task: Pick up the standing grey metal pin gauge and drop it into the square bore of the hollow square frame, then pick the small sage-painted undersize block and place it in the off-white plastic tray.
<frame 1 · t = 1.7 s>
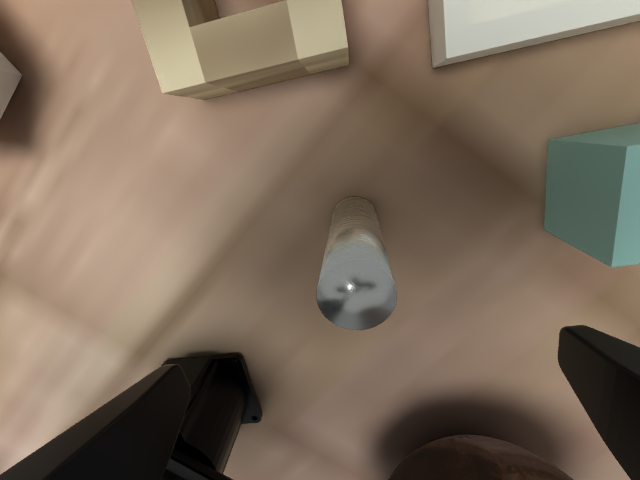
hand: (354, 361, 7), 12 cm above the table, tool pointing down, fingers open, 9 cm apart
wooden sphere: (457, 455, 25), on the table
undersize block: (596, 178, 17), on the table
pin gauge: (354, 217, 18), on the table
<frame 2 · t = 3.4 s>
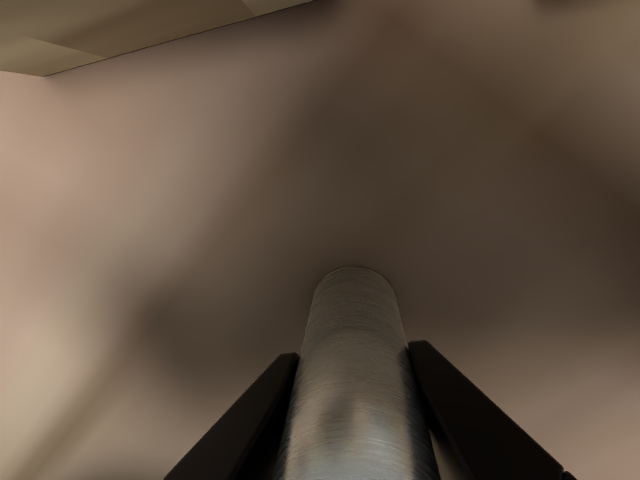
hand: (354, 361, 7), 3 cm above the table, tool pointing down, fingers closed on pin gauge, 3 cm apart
pin gauge: (353, 303, 10), on the table, touching gripper
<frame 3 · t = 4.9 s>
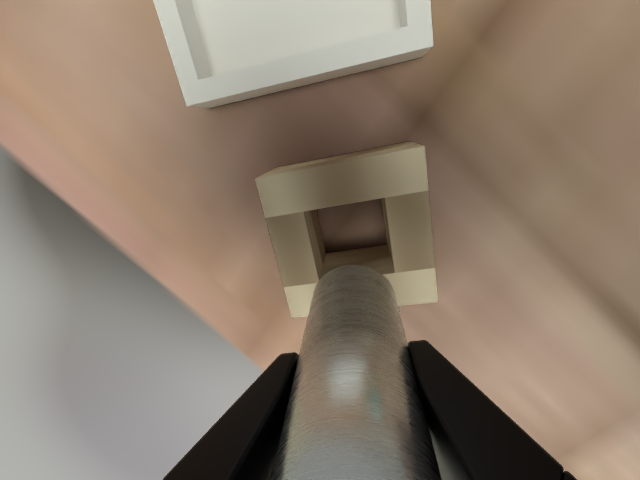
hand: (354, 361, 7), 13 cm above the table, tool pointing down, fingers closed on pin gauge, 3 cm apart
hollow square frame: (351, 219, 19), on the table
pin gauge: (353, 302, 10), point 10 cm above the table, touching gripper
when the fingers open (5 cm above the table, at t = 6.5 s): pin gauge drops 2 cm, resting in hollow square frame.
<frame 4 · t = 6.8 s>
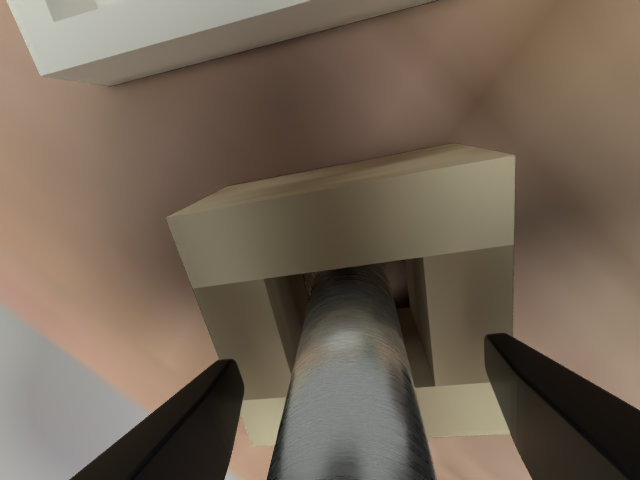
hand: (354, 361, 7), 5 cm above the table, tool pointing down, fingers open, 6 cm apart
hollow square frame: (352, 269, 12), on the table
pin gauge: (351, 267, 12), resting in hollow square frame
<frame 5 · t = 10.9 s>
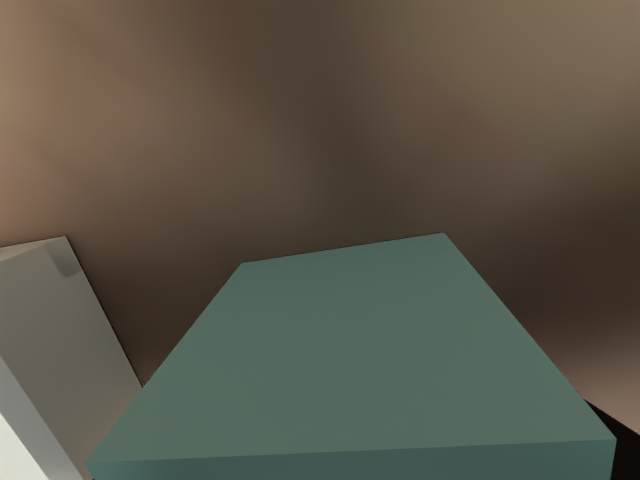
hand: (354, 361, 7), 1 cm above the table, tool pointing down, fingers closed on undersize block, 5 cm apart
tray: (2, 417, 11), on the table
undersize block: (354, 333, 8), on the table, touching gripper
when the fingers open (3 cm above the table, at t = 14.4 s): undersize block drops 2 cm, resting on tray.
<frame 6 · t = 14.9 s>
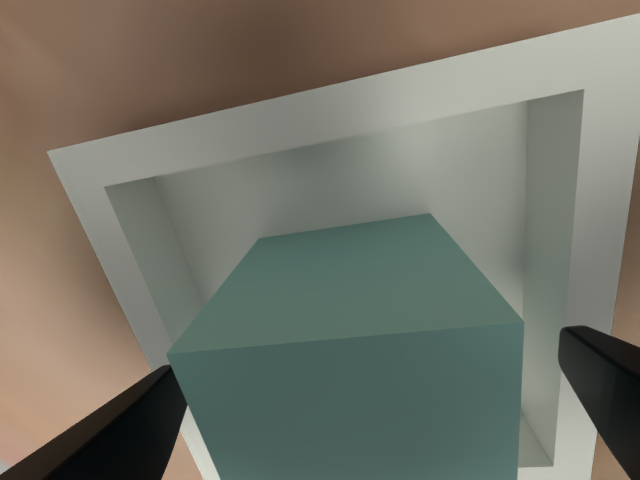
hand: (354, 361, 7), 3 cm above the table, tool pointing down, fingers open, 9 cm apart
tray: (352, 292, 10), on the table
undersize block: (353, 300, 10), point 1 cm above the table, touching tray
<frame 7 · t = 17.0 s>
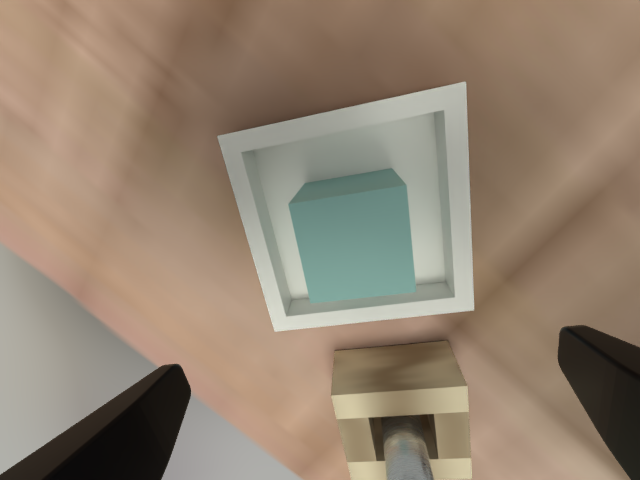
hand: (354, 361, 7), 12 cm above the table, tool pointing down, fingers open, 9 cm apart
tray: (353, 215, 19), on the table
undersize block: (353, 217, 18), point 1 cm above the table, touching tray
hollow square frame: (395, 388, 23), on the table
pin gauge: (395, 387, 23), resting in hollow square frame
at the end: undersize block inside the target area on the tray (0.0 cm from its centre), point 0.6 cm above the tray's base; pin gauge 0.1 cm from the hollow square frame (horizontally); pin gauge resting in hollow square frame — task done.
